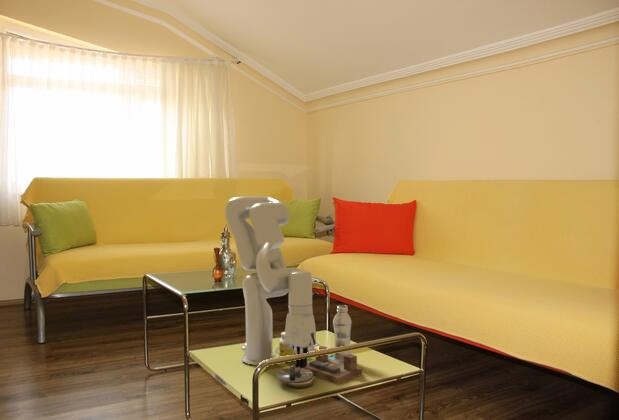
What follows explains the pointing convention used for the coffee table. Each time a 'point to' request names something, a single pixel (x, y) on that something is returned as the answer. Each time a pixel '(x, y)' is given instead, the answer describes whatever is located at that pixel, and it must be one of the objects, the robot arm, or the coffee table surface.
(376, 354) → the coffee table surface
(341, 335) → the plastic bottle
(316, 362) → the stand
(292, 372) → the capstan
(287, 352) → the supplement bottle
